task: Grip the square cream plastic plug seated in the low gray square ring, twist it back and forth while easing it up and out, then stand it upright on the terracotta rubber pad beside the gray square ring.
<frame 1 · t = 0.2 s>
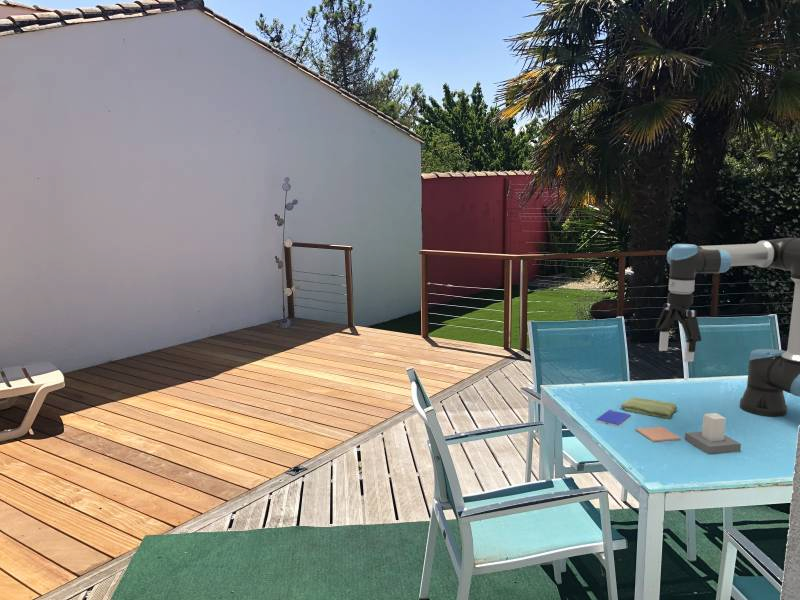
hand: (675, 355, 196), 27 cm above the table, tool pointing down, fingers open, 13 cm apart
plug: (713, 430, 191), in the gray square ring
pad: (657, 435, 200), on the table
hard drive: (613, 421, 215), on the table
gray square ring: (711, 445, 192), on the table
washcloth: (648, 411, 224), on the table
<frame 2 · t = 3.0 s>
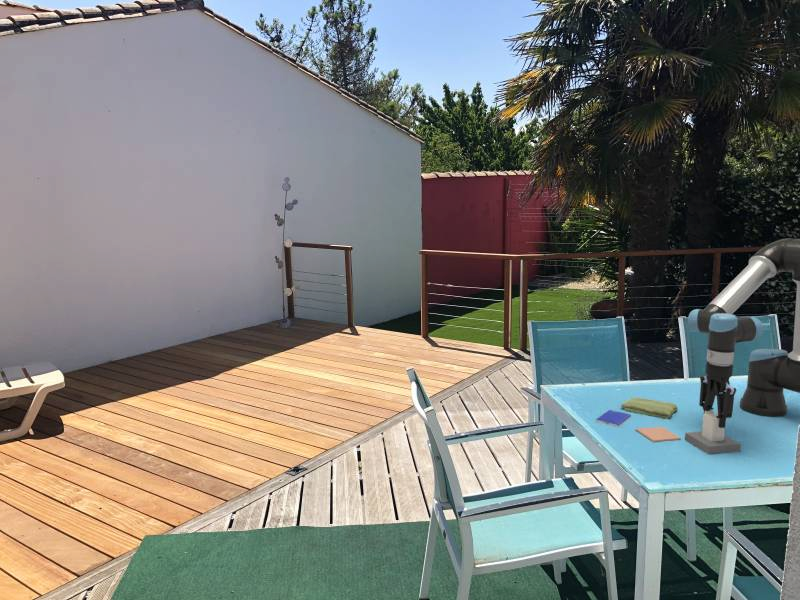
hand: (713, 433, 191), 4 cm above the table, tool pointing down, fingers closed on plug, 4 cm apart
plug: (713, 430, 191), in the gray square ring, touching gripper
everything else where it was.
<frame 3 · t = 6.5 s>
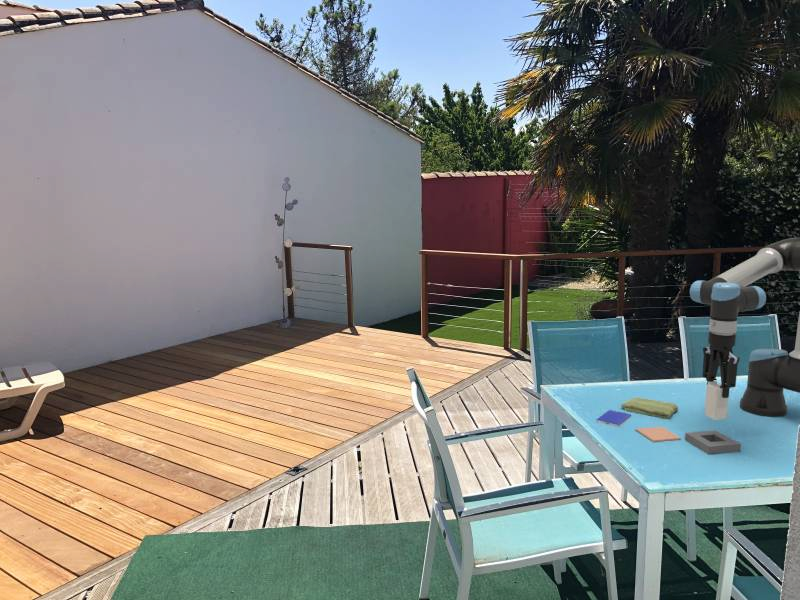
hand: (716, 403, 190), 14 cm above the table, tool pointing down, fingers closed on plug, 4 cm apart
plug: (716, 401, 190), point 15 cm above the table, touching gripper
everything else where it was.
when the fingers open (6 cm above the table, at t = 9.8 s): plug drops 1 cm, resting on pad.
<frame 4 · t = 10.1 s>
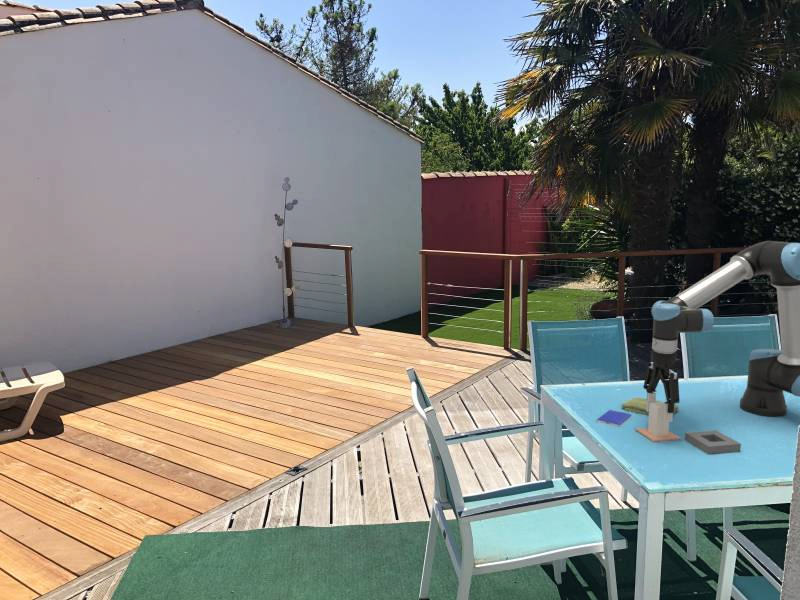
hand: (659, 416, 199), 7 cm above the table, tool pointing down, fingers open, 9 cm apart
plug: (658, 419, 199), on the pad, point 6 cm above the table
everything else where it was.
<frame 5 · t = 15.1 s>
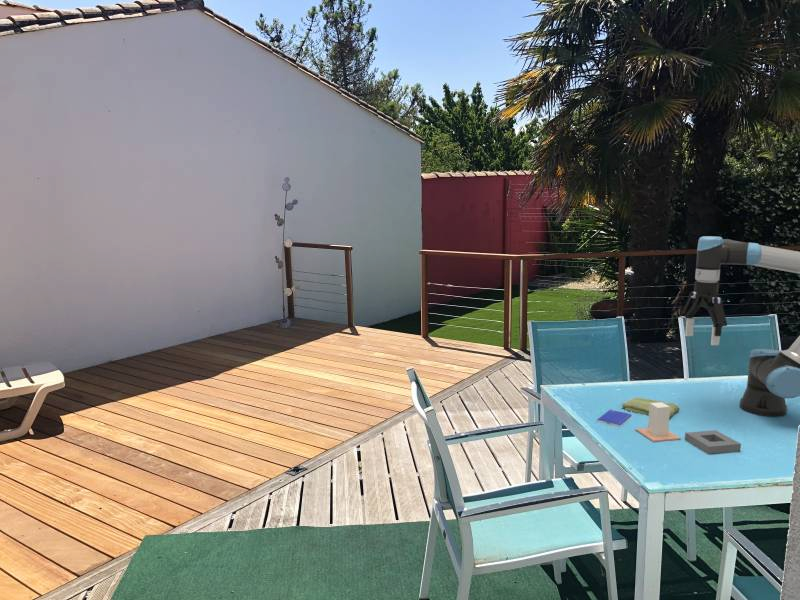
hand: (701, 340, 211), 29 cm above the table, tool pointing down, fingers open, 13 cm apart
nothing on the table moved.
at the end: plug inside the target area on the pad (0.0 cm from its centre), point 5.6 cm above the pad's base; plug tilted 0°; the gripper is holding nothing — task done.
